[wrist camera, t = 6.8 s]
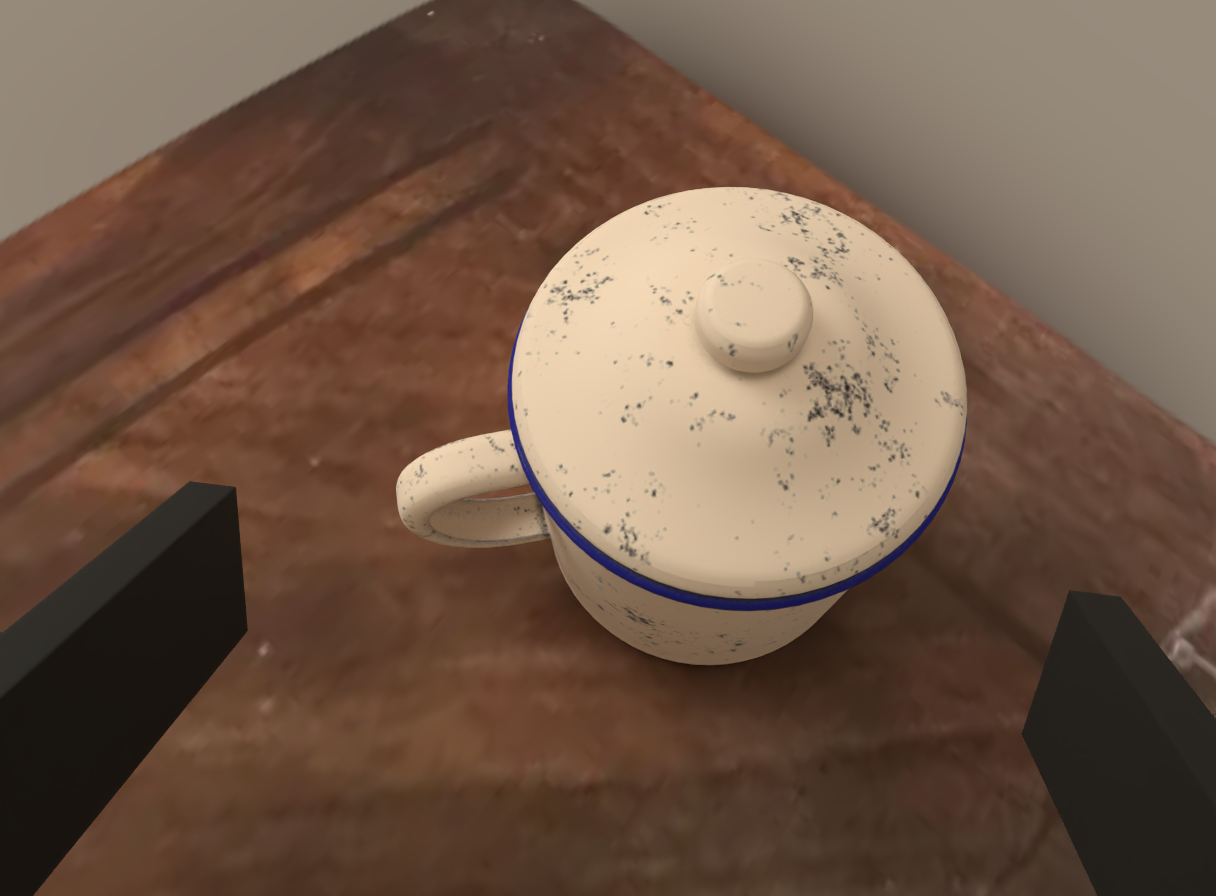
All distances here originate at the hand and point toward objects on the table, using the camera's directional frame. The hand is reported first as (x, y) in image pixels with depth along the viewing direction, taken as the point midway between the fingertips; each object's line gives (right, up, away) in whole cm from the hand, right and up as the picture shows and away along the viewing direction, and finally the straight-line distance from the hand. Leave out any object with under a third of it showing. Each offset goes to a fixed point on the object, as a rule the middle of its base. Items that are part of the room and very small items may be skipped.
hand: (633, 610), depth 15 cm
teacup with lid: (+1, 0, +12) cm, 12 cm away
